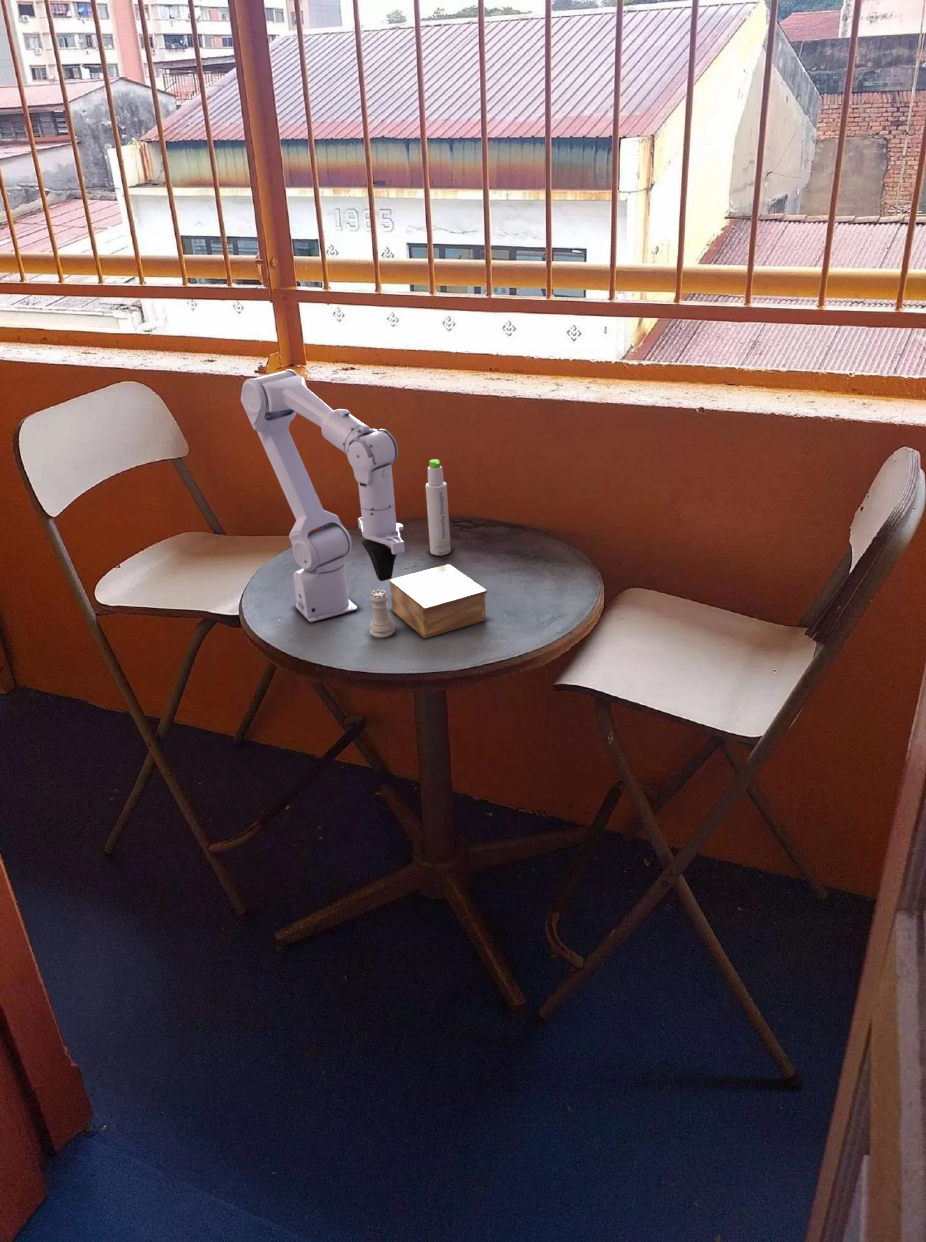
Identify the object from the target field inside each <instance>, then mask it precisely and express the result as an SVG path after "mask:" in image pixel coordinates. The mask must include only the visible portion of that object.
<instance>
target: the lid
mask: <svg viewBox="0 0 926 1242" xmlns="http://www.w3.org/2000/svg"><path fill="white" fill-rule="evenodd" d="M390 583H391V584H392V585H393V586H395V587H396V588H397V589H398V590H400V591H401V592H402V593H403V594H404V595H406V596H407V597H408V598H409V599H411V600H412V601H413V602H414V603H416V604H417V605H418V606H419V607H420V608H422V609H423V610H424V611H427V610H431V609H434V608H438V607H441V606H445V605H448V604H452V603H455V602H459V601H462V600H465V599H469V598H472V597H476V596H479V595H483V594H485V595H486V594H488V590H487V589H485V588H484V587H483V586H481V585H480V584H478V583H477V582H475V581H474V580H473V579H471V578H470V577H468V576H467V575H466V574H465V573H463V572H461V571H459V569H457V568H455V567H454V566H453V565H451V564H450V563H449V564H448V563H447V564H443V565H439V566H437V567H433V568H429V569H425V570H421V571H417V572H413V573H410V574H405V575H403V576H399V577H395V578H391V579H389V584H390Z"/></svg>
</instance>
